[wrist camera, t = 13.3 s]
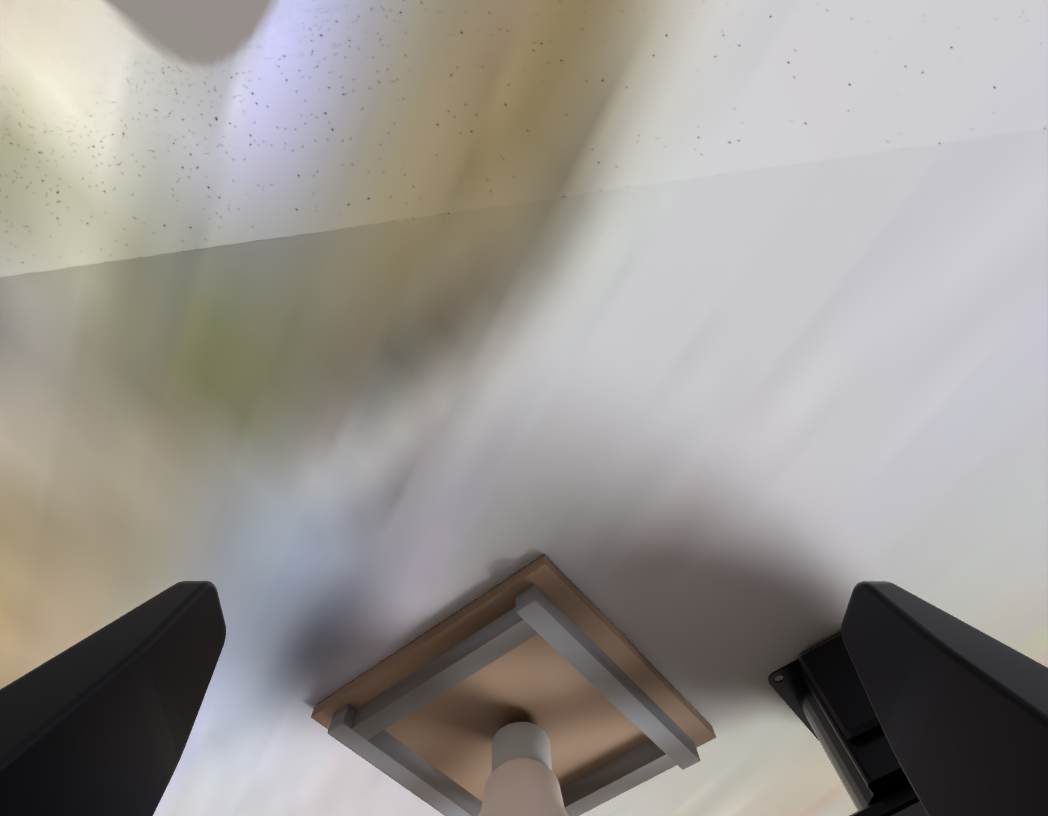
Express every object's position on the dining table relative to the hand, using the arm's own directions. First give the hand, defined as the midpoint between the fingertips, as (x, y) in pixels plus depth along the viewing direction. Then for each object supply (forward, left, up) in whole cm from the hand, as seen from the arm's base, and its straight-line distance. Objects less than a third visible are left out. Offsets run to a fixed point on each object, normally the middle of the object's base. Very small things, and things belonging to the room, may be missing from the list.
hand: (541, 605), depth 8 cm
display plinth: (-15, +12, -13) cm, 23 cm away
